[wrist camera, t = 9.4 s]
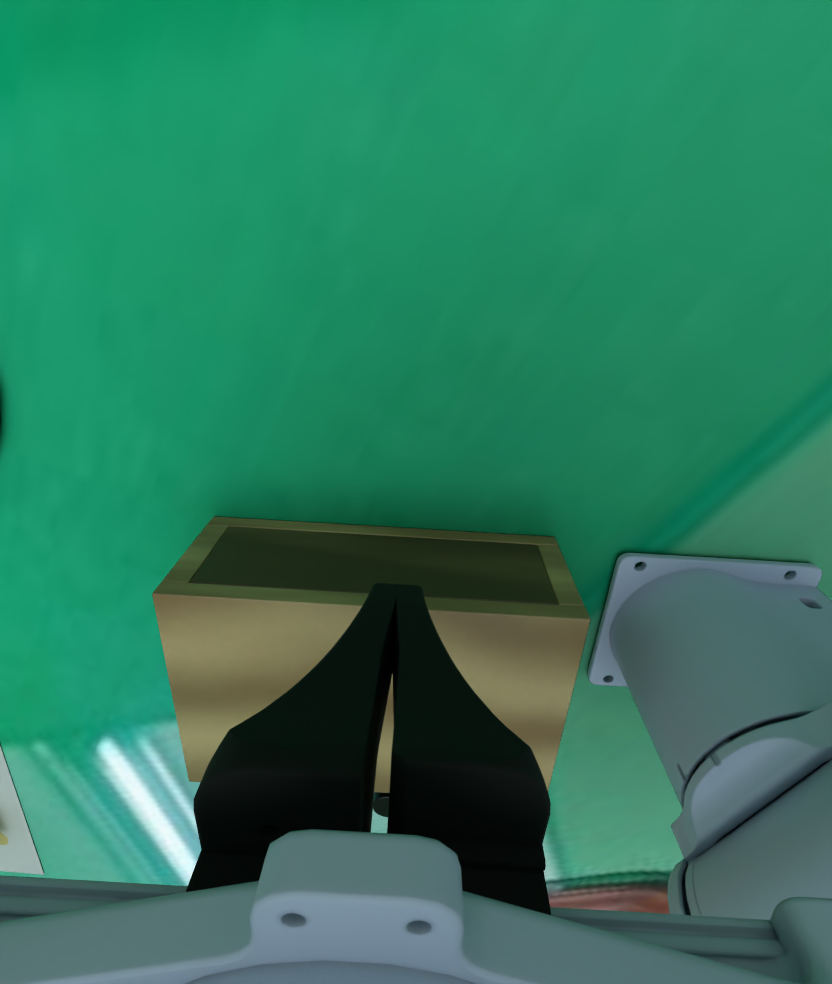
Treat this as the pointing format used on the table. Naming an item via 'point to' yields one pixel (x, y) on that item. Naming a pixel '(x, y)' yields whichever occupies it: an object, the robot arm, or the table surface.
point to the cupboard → (335, 603)
